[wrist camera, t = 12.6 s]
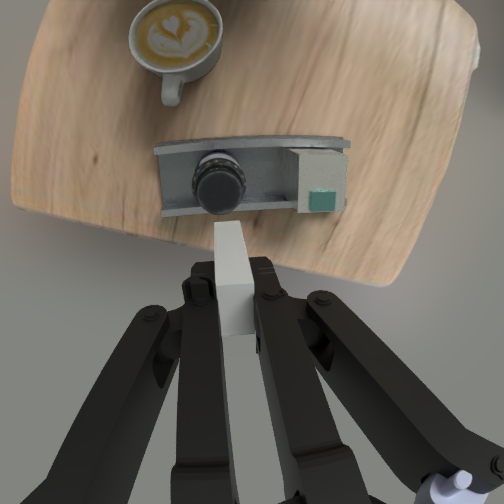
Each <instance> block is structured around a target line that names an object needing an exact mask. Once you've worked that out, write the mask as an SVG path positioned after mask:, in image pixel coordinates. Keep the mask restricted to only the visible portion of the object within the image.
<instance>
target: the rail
mask: <svg viewBox="0 0 504 504" xmlns="http://www.w3.org/2000/svg"><path fill="white" fill-rule="evenodd" d="M350 143H351V141H348V140H344V139H343V137H334V136H309V135H256V136H231V137H215V138H201V139H190V140H180V141H171V142H163V143H157V146H155V147H154V148H153V149H154V155H158V161H159V171H160V180H161V188H162V197H163V204H164V205H163V207H162V209H161V217H171V216H182V215H193V214H205V213H209V212H207V211H206V210H204V209H203V208H202V207H201V205H200V204H199V203H198V202H197V201H196V199H195V198H194V196H193V193H192V178H193V176H194V173H195V169H196V166H197V164H198V162H199V161H200V160H201V159H202V157H204V156H205V155H206V154H208V153H210V152H215V151H222V152H226V153H228V154H230V155H232V156H233V157H234V158H235V159H236V160H237V162H238V164H239V166H240V167H241V169H242V171H243V173H244V175H245V179H246V191H245V194H244V196H243V198H242V200H241V201H240V204H239V205H238V206H237V207H236V208H235V209H234V210H233V211H247V210H263V209H281V208H294V209H295V211H296V212H297V213H312V212H337V211H344V206H346V203H347V199H346V198H345V190H346V177H347V161H348V156H347V155H345V154H343V148H350ZM231 212H232V211H231Z"/></svg>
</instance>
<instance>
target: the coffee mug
mask: <svg viewBox="0 0 504 504" xmlns="http://www.w3.org/2000/svg"><path fill="white" fill-rule="evenodd" d="M222 35H223V22H222V18H221V15H220V13H219V11H218V10H217V8H216V7H215V6H214V5H213V4H212V3H211V2H209V1H208V0H154V1H152V2H151V3H149V4H148V5H146V6H145V7H144V8H143V9H142V10H141V11H140V12H139V13H138V14H137V16H136V17H135V19H134V20H133V22H132V24H131V27H130V30H129V34H128V44H129V49H130V51H131V53H132V55H133V57H134V58H135V60H136V61H137V62H138V63H139V64H140V65H142V66H143V67H145V68H146V69H148V70H149V71H151V72H153V73H154V74H156V75H157V76H159V77H160V78H162V79H163V81H162V92H161V99H162V103H163V104H164V105H165V106H167V107H176V106H177V105H179V103H180V101H181V98H182V92H183V86H184V83H186V82H191V81H195V80H197V79H199V78H201V77H203V76H205V75H206V74H207V73H208V72H210V71H211V70H212V68H213V67H214V66H215V65H216V63H217V61H218V59H219V56H220V52H221V43H222Z"/></svg>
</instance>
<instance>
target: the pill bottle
mask: <svg viewBox="0 0 504 504" xmlns="http://www.w3.org/2000/svg"><path fill="white" fill-rule="evenodd" d="M245 191H246V179H245V175H244V173H243V171H242V169H241V167H240V166H239V164H238V162H237V160H236V159H235V158H234V157H233V156H232V155H230V154H228V153H226V152H222V151H215V152H210V153H208V154H206V155H205V156H204V157H202V159H201V160H200V161H199V162H198V164H197V166H196V169H195V173H194V176H193V178H192V193H193V196H194V198H195V199H196V201H197V202H198V203H199V204H200V205H201V207H202V208H203V209H204V210H206V211H207V212H209V213H211V214H215V215H223V214H227V213H229V212H231V211H233V210H234V209H235V208H236V207H237V206H238V205H239V204H240V201H241V200H242V198H243V196H244V194H245Z"/></svg>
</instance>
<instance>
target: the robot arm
mask: <svg viewBox="0 0 504 504" xmlns="http://www.w3.org/2000/svg"><path fill="white" fill-rule="evenodd" d="M214 252H215V261H209V262H196V263H195V264H194V265H193V267H192V268H191V276H190V277H189V278H187V279H186V280H185V281H184V282H183V284H182V290H183V295H184V300H185V304H184V305H183V306H181V307H179V308H177V309H175V310H171V311H168V312H167V311H166V309H165V308H164V307H163V306H159V305H150V306H146V307H144V308H142V309H141V310H140V311H139V312H138V313H137V314H136V315H135V317H134V318H133V320H132V322H131V323H130V325H129V327H128V328H127V330H126V331H125V333H124V334H123V336H122V338H121V339H120V341H119V343H118V344H117V346H116V348H115V349H114V351H113V353H112V354H111V356H110V358H109V360H108V361H107V363H106V364H105V366H104V368H103V370H102V371H101V373H100V375H99V377H98V378H97V380H96V382H95V384H94V385H93V387H92V389H91V391H90V392H89V395H88V396H87V398H86V400H85V402H84V403H83V405H82V407H81V409H80V411H79V413H78V415H77V417H76V418H75V420H74V422H73V424H72V426H71V428H70V430H69V432H68V434H67V436H66V438H65V440H64V442H63V444H62V446H61V448H60V450H59V452H58V454H57V456H56V458H55V460H54V463H53V465H52V467H51V469H50V471H49V473H48V476H47V478H46V479H45V480H44V481H43V482H42V483H41V484H40V485H39V486H38V487H37V488H36V489H35V490H34V491H33V492H32V493H31V494H30V495H29V496H28V497H26V498H25V499H24V500H23V501H22V502H21V503H20V504H127V503H128V500H129V497H130V494H131V491H132V488H133V485H134V483H135V480H136V477H137V474H138V471H139V468H140V465H141V462H142V459H143V457H144V454H145V451H146V448H147V446H148V443H149V440H150V437H151V434H152V432H153V429H154V426H155V423H156V421H157V418H158V415H159V413H160V410H161V407H162V405H163V402H164V399H165V397H166V394H167V391H168V388H169V386H170V384H171V381H172V378H173V376H174V373H175V370H176V368H177V365H178V363H179V358H180V365H179V382H178V402H177V432H176V433H177V434H176V464H175V465H174V466H173V468H172V471H171V504H240V503H239V497H238V491H237V485H236V477H235V469H234V460H233V452H232V443H231V433H230V424H229V414H228V403H227V393H226V381H225V369H224V356H223V346H222V345H223V344H222V336H234V335H244V334H255V331H256V353H258V355H259V360H260V365H261V370H262V375H263V381H264V385H265V391H266V395H267V401H268V406H269V411H270V416H271V421H272V426H273V431H274V436H275V441H276V446H277V450H278V456H279V461H280V465H281V470H282V475H283V480H284V493H285V499H286V501H283V502H281V503H278V504H386V503H384V502H382V501H380V500H379V499H377V498H375V497H373V496H371V495H368V493H367V490H366V487H365V484H364V481H363V479H362V476H361V472H360V470H359V467H358V464H357V461H356V458H355V456H354V454H353V451H352V450H351V449H350V447H349V446H347V445H345V444H343V443H342V442H341V439H340V436H339V434H338V431H337V428H336V425H335V422H334V419H333V416H332V414H331V411H330V408H329V405H328V402H327V400H326V397H325V394H324V391H323V388H322V385H321V383H320V380H319V377H318V375H317V372H316V369H317V370H318V371H319V372H320V374H321V375H322V377H323V378H324V380H325V381H326V382H327V384H328V385H329V387H330V388H331V389H332V391H333V392H334V393H335V395H336V396H337V398H338V399H339V400H340V402H341V403H342V404H343V406H344V407H345V408H346V410H347V411H348V412H349V414H350V415H351V416H352V418H353V419H354V421H355V422H356V423H357V425H358V426H359V427H360V429H361V430H362V431H363V433H364V434H365V435H366V437H367V438H368V439H369V441H370V442H371V443H372V445H373V446H374V447H375V449H376V450H377V451H378V453H379V454H380V455H381V457H382V458H383V459H384V461H385V462H386V463H387V465H388V466H389V467H390V469H391V470H392V471H393V473H394V474H395V475H396V476H397V477H398V478H399V480H400V481H401V482H402V483H403V484H404V485H406V486H407V487H408V488H409V489H410V490H412V491H413V492H415V493H416V498H415V502H414V504H484V502H485V500H486V498H487V495H488V494H489V493H490V492H491V491H492V490H494V489H496V488H497V487H499V486H501V485H502V484H504V448H502V447H500V446H498V445H496V444H494V443H492V442H490V441H488V440H486V439H485V438H483V437H481V436H479V435H477V434H475V433H473V432H471V431H469V430H467V429H466V428H465V427H464V426H463V425H462V424H461V423H460V422H459V421H458V419H457V418H456V417H455V416H454V415H453V414H452V413H451V412H450V411H449V410H448V409H447V408H446V407H445V406H444V405H443V403H442V402H441V401H440V400H439V399H438V398H437V397H436V396H435V395H434V394H433V393H432V392H431V391H430V390H429V389H428V388H427V387H426V385H425V384H424V383H422V381H421V380H419V378H418V377H417V376H416V375H415V374H414V373H413V372H412V371H411V370H410V369H409V368H408V367H407V366H406V365H405V364H404V363H403V362H402V361H401V360H400V359H399V358H398V357H397V355H395V353H394V352H393V351H392V350H391V349H390V348H389V347H388V346H387V345H386V344H385V343H384V342H383V341H382V340H381V339H380V338H379V337H378V336H377V335H376V334H375V333H374V332H373V331H372V330H371V329H370V328H369V327H368V326H367V325H366V324H365V323H364V322H363V321H362V320H361V319H360V318H359V317H358V316H357V315H356V314H355V313H354V312H353V311H352V310H351V309H349V308H348V307H347V306H346V305H345V304H344V303H343V302H342V301H341V300H340V299H339V298H338V297H337V296H336V295H335V294H333V293H331V292H328V291H323V290H319V291H314V292H312V293H310V294H309V295H308V296H307V299H299V298H293V297H290V296H288V293H287V292H286V291H285V290H284V289H283V288H281V286H280V283H279V281H278V278H277V275H276V273H275V270H274V268H273V264H272V262H271V260H269V259H268V258H267V257H266V256H264V257H251V258H248V255H247V250H246V246H245V242H244V237H243V233H242V229H241V224H240V220H238V221H223V222H214ZM315 367H316V369H315Z"/></svg>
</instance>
